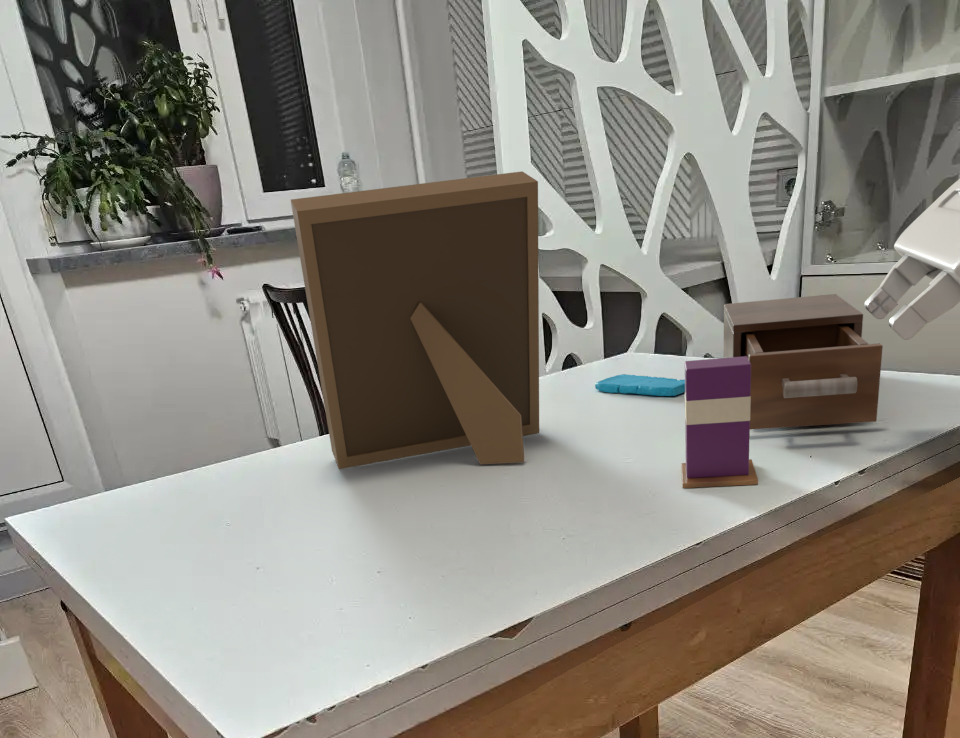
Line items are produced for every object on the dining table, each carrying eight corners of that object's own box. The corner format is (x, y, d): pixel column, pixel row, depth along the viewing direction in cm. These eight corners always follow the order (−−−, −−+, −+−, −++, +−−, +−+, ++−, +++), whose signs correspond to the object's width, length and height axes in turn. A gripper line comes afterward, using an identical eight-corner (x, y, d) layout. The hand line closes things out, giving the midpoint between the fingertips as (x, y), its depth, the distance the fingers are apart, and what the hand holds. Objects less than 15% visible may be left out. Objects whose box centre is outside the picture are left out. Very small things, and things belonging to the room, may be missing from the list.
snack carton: (745, 463, 78) (747, 355, 74) (749, 475, 75) (751, 364, 71) (685, 466, 79) (684, 360, 75) (686, 478, 76) (685, 369, 72)
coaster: (751, 463, 79) (751, 459, 79) (757, 484, 74) (758, 479, 74) (681, 467, 81) (681, 463, 80) (682, 488, 75) (682, 483, 75)
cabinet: (857, 400, 95) (863, 313, 91) (732, 408, 97) (733, 325, 94) (831, 369, 109) (835, 293, 105) (723, 377, 112) (723, 304, 108)
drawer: (886, 433, 80) (893, 353, 77) (751, 441, 82) (753, 364, 79) (846, 386, 97) (851, 319, 94) (736, 394, 99) (737, 329, 96)
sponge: (660, 392, 104) (696, 376, 106) (590, 383, 113) (624, 368, 115) (662, 405, 104) (697, 389, 107) (592, 395, 114) (626, 380, 116)
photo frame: (333, 459, 97) (285, 200, 86) (526, 425, 101) (504, 174, 90) (353, 496, 84) (300, 196, 73) (574, 455, 88) (555, 166, 77)
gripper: (971, 135, 72) (832, 278, 79) (1070, 128, 54) (880, 314, 61) (1023, 191, 73) (883, 327, 80) (1138, 202, 55) (945, 377, 62)
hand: (882, 322), depth 70 cm, fingers open, 8 cm apart
